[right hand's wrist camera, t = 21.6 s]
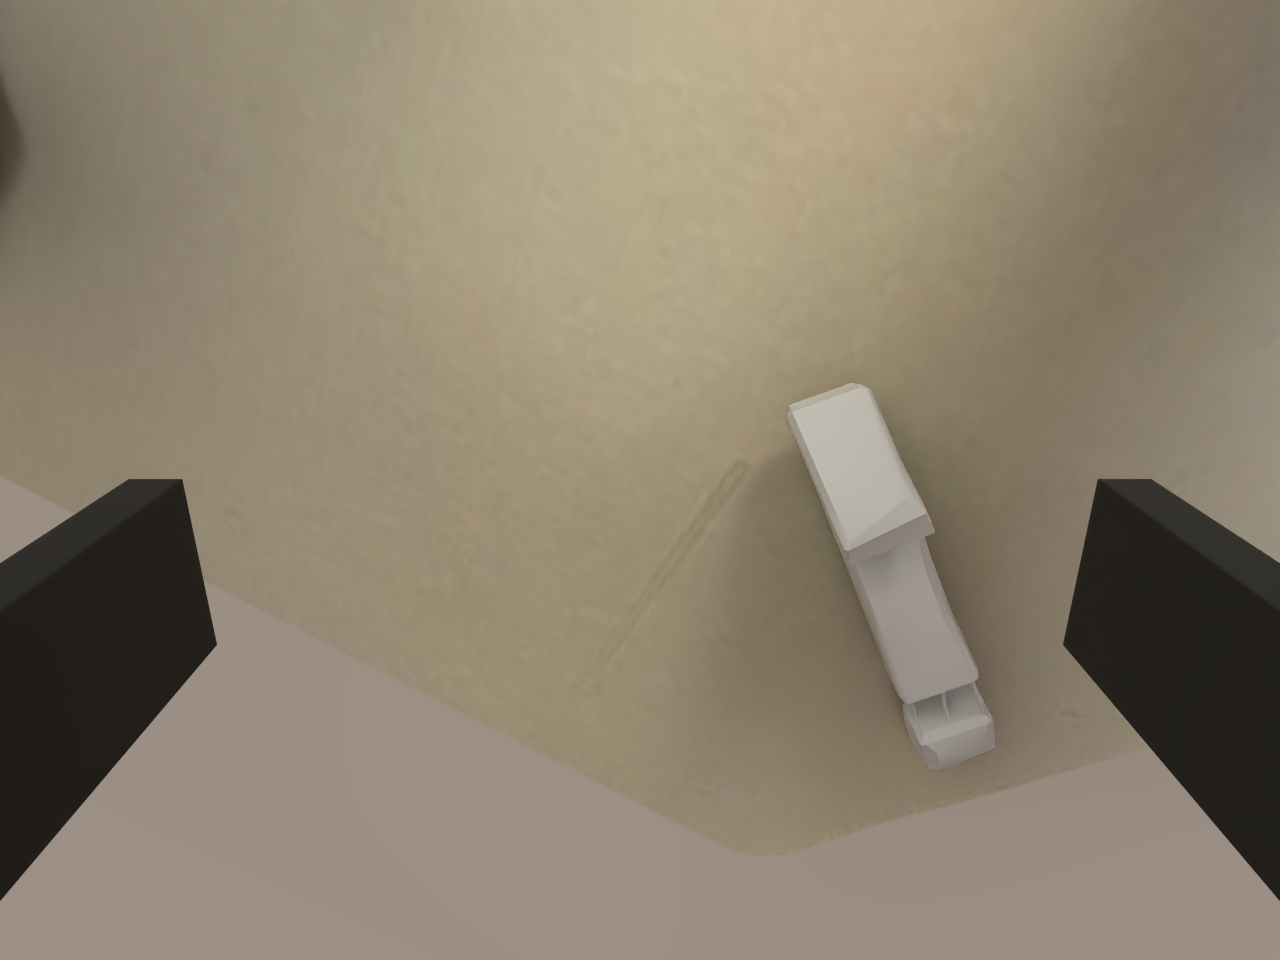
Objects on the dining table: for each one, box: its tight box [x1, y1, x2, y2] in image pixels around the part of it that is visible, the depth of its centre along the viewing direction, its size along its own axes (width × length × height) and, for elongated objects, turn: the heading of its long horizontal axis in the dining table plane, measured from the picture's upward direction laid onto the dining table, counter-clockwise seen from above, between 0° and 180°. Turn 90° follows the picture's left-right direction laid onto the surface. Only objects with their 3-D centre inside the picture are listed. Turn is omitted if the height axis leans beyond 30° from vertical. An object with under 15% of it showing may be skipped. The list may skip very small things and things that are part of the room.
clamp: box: [786, 383, 995, 770], centre depth 37 cm, size 20×4×7 cm, turn 24°
